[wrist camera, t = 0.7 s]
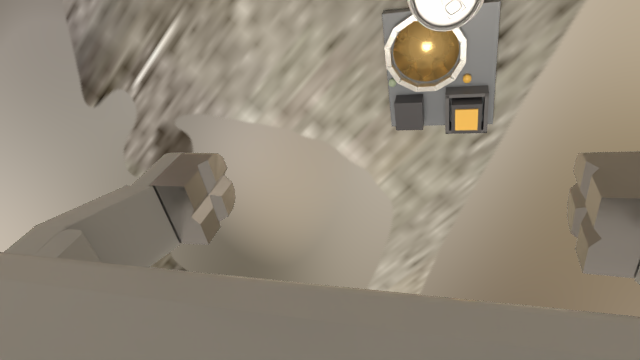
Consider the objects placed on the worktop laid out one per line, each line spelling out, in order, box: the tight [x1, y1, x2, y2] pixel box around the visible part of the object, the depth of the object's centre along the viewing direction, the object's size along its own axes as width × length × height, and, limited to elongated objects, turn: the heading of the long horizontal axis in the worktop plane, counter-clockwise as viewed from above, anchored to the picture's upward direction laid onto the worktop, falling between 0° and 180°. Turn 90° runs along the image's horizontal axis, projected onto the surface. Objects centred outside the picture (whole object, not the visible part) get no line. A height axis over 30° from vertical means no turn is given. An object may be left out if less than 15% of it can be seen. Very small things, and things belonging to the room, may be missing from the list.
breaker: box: [451, 97, 482, 133], centre depth 48 cm, size 4×3×2 cm
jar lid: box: [385, 13, 467, 92], centre depth 47 cm, size 9×9×1 cm
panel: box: [382, 0, 501, 134], centre depth 48 cm, size 14×12×4 cm
